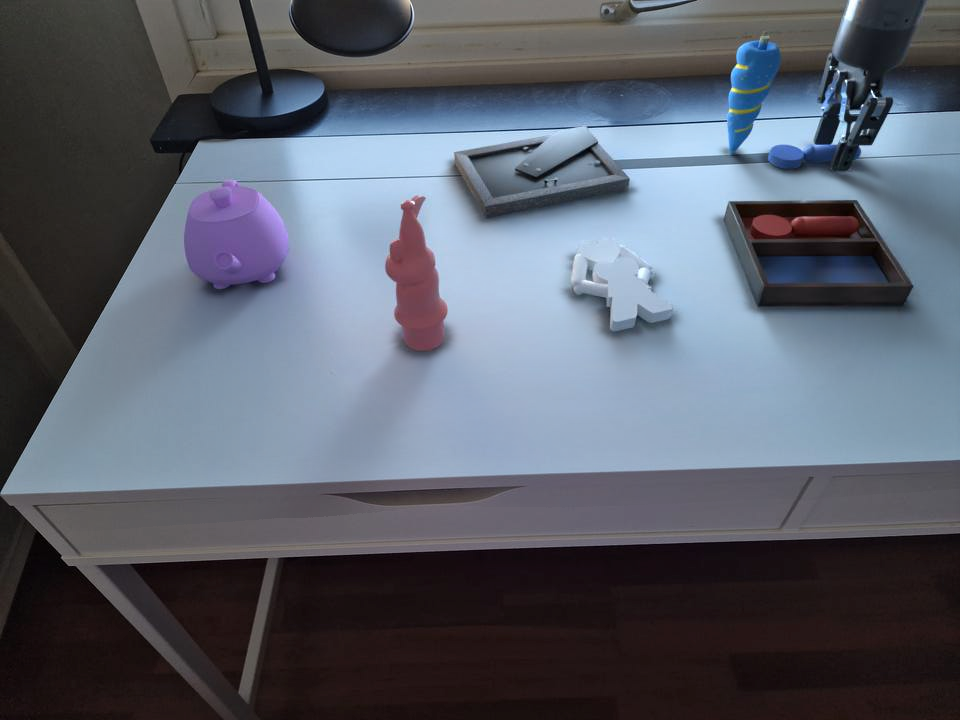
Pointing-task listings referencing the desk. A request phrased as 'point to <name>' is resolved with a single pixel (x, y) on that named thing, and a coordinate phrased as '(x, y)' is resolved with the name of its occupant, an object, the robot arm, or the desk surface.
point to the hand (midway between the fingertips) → (830, 156)
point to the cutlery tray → (816, 258)
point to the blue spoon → (802, 155)
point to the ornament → (750, 87)
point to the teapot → (234, 236)
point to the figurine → (416, 283)
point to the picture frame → (539, 172)
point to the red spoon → (802, 226)
